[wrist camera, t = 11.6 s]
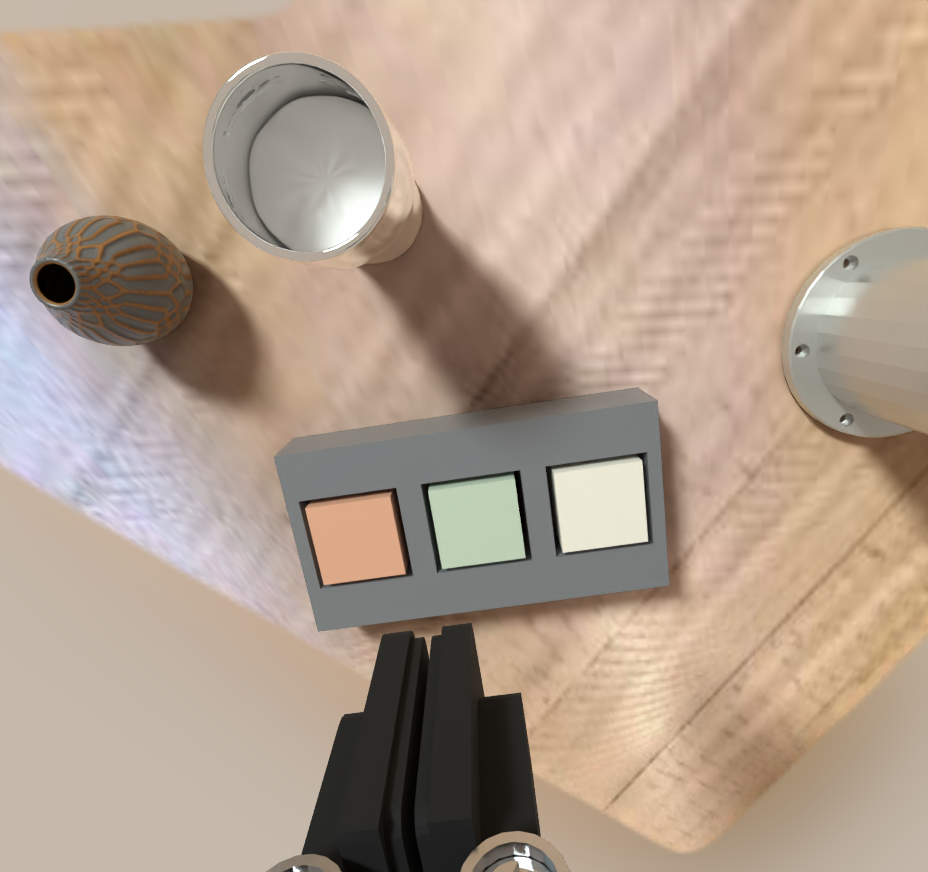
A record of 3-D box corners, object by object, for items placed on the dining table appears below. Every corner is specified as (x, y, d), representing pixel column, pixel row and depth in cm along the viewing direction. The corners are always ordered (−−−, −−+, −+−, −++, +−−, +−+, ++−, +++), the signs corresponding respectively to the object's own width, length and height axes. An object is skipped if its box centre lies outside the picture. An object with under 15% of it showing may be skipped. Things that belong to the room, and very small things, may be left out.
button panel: (637, 387, 36) (657, 400, 33) (649, 555, 40) (669, 585, 36) (293, 438, 38) (273, 456, 34) (332, 598, 41) (318, 631, 37)
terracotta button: (398, 474, 38) (390, 496, 34) (411, 544, 39) (405, 574, 35) (321, 485, 38) (305, 508, 34) (338, 555, 39) (323, 585, 36)
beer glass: (317, 137, 33) (197, 26, 18) (437, 155, 33) (412, 61, 18) (308, 262, 35) (193, 252, 20) (422, 279, 35) (389, 281, 20)
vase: (209, 346, 36) (130, 367, 28) (99, 330, 36) (-15, 346, 27) (211, 231, 34) (127, 216, 26) (95, 214, 34) (-28, 193, 26)
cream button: (624, 441, 37) (642, 460, 33) (630, 515, 38) (648, 541, 35) (544, 453, 37) (553, 473, 34) (553, 525, 39) (562, 552, 35)
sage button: (510, 458, 37) (514, 479, 34) (519, 530, 39) (525, 557, 35) (432, 469, 38) (428, 491, 34) (444, 540, 39) (442, 569, 35)
